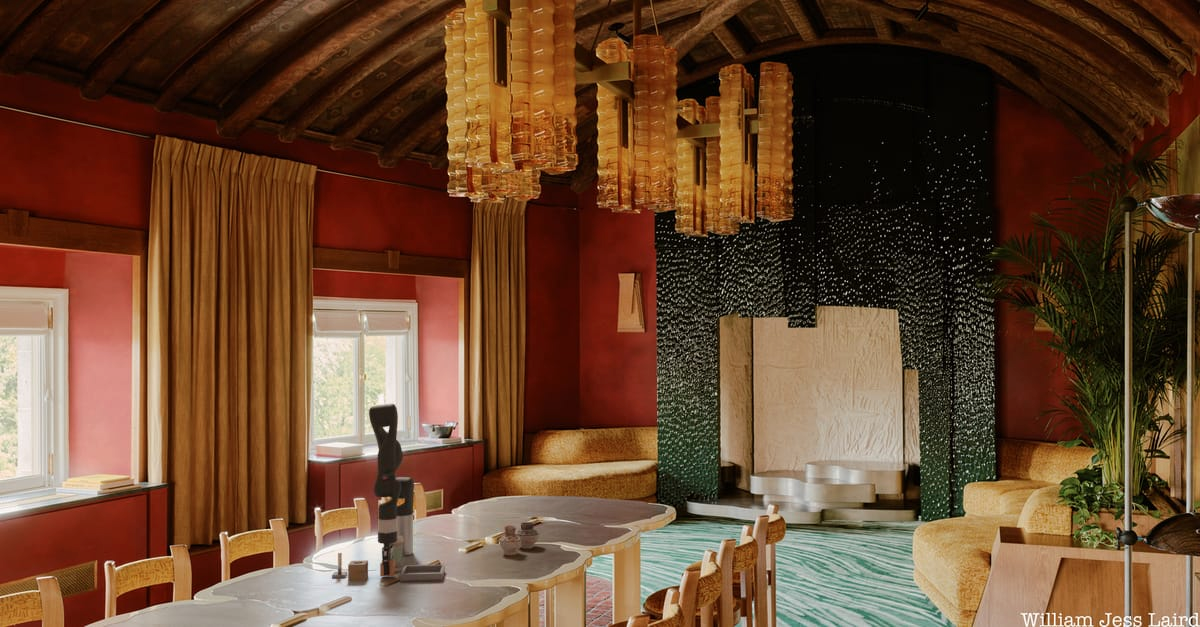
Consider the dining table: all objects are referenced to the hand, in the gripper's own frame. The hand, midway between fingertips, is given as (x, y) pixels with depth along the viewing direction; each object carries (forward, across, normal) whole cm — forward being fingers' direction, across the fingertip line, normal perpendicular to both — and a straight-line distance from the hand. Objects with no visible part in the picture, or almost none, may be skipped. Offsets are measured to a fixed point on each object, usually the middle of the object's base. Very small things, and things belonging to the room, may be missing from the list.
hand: (387, 573), depth 361 cm
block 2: (0, 0, 0) cm, 0 cm away
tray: (+2, +1, +14) cm, 14 cm away
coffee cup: (+2, -19, 0) cm, 19 cm away
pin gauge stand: (+2, -4, -19) cm, 20 cm away
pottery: (+2, -41, +52) cm, 66 cm away
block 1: (+2, +1, -11) cm, 11 cm away
